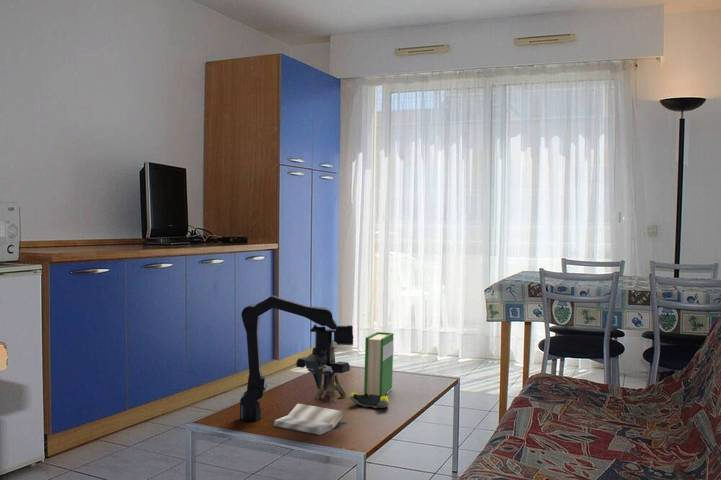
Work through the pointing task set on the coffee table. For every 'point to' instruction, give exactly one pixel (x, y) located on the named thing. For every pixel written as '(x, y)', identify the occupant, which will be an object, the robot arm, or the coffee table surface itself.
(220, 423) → the coffee table surface
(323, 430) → the plank
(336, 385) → the eiffel tower
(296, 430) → the underlay mat
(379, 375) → the hardback book
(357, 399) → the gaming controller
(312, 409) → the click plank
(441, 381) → the coffee table surface
